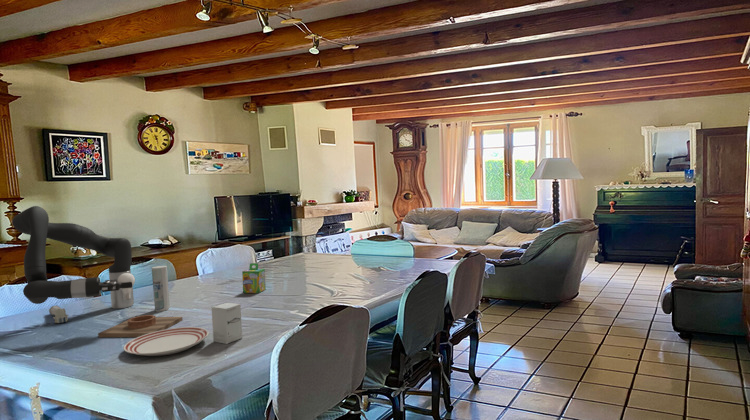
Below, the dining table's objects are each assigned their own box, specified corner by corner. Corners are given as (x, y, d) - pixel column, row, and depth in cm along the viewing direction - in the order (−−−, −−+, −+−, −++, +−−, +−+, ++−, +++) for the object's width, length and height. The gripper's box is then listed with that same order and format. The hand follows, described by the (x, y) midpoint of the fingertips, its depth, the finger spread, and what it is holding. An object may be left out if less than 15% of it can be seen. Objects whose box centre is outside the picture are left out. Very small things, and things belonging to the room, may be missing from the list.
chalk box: (242, 293, 251) (241, 265, 250) (250, 289, 260) (248, 262, 259) (259, 293, 249) (257, 264, 249) (266, 289, 258) (264, 261, 258)
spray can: (151, 311, 222) (148, 267, 221) (162, 307, 228) (159, 265, 227) (162, 311, 220) (159, 268, 219) (173, 308, 226) (170, 265, 225)
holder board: (134, 320, 207) (133, 311, 206) (182, 320, 204) (181, 310, 203) (98, 337, 185) (97, 326, 185) (151, 336, 182) (151, 326, 182)
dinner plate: (124, 368, 151) (123, 357, 151) (123, 344, 175) (123, 335, 175) (215, 350, 163) (214, 341, 163) (203, 330, 188) (202, 322, 188)
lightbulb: (122, 298, 199) (121, 271, 199) (138, 297, 200) (137, 271, 199) (115, 302, 193) (114, 274, 193) (132, 301, 194) (130, 274, 193)
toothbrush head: (60, 304, 229) (68, 305, 210) (61, 318, 228) (69, 321, 209) (46, 306, 225) (53, 308, 206) (48, 321, 225) (55, 323, 206)
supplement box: (227, 344, 169) (224, 308, 168) (212, 341, 173) (210, 306, 172) (243, 338, 175) (241, 303, 174) (229, 335, 179) (227, 302, 178)
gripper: (81, 281, 184) (130, 276, 190) (88, 275, 197) (134, 271, 204) (83, 300, 184) (131, 295, 191) (89, 293, 198) (135, 289, 204)
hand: (132, 283), depth 197 cm, fingers closed on lightbulb, 6 cm apart
